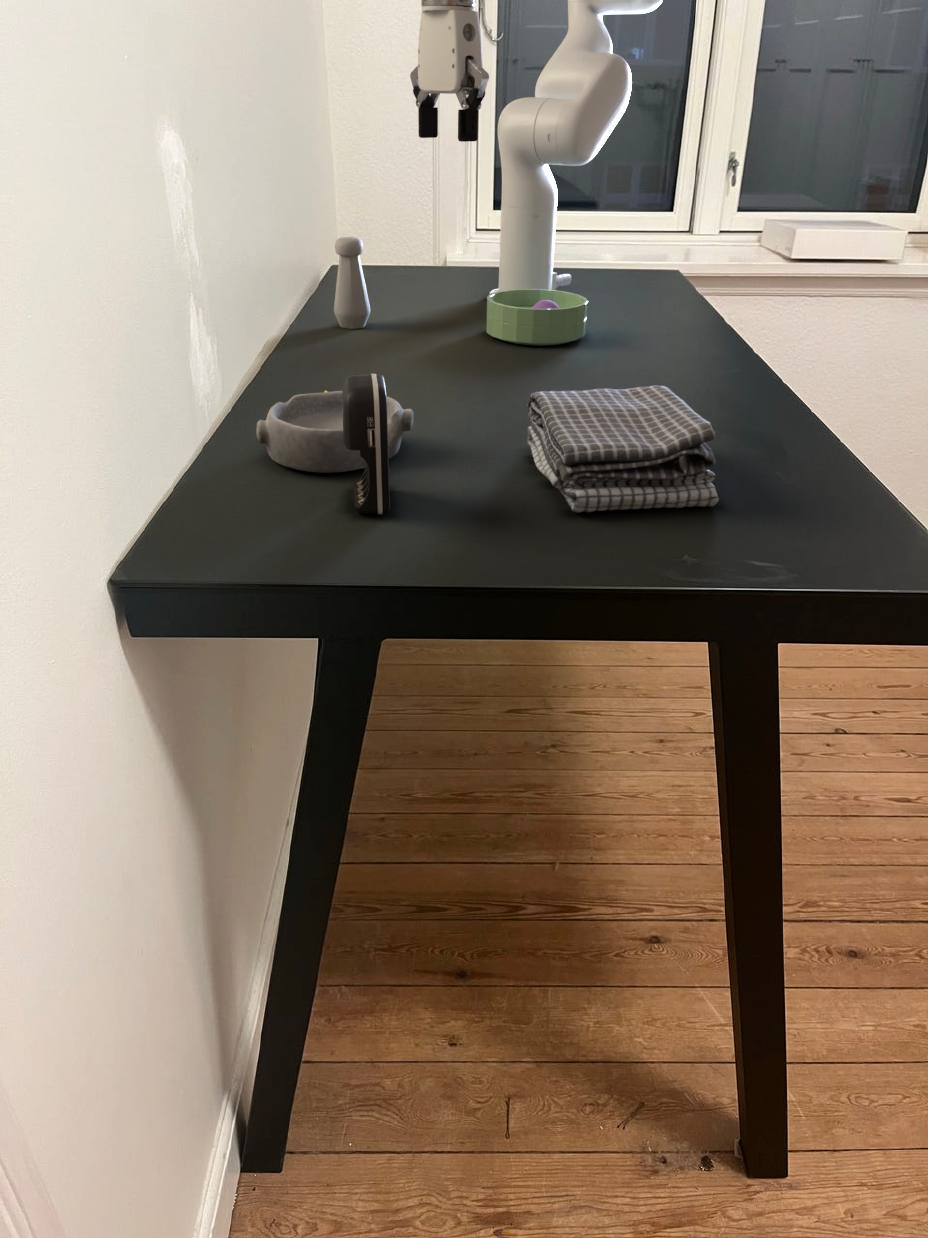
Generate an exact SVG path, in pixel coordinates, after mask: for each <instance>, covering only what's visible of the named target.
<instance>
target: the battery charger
mask: <svg viewBox="0 0 928 1238" xmlns="http://www.w3.org/2000/svg"><path fill="white" fill-rule="evenodd" d="M386 388H387V387H386V383H385V378H384V375H382V374H377V373H370V374H355V375H350V376H348V377H347V378H346V379H345V380H344V382H343V385H342V391H343V440H344V444H345V445H346V448H347V449H349V450H358V451H360V456H361V457H362V458H363V459H364V460H365V461H366V463H367V464H366V468H364V471H363V473H362V475H361V477H360V478H359V480H358V481H357V482H356V483H355V484H354V485H353V502H354V509H355V511H356V512H357V513H358V514H365V515H379V516H382V515H384V514H388V513H390V511H391V502H390V501H391V500H390V498H391V497H390V496H391V495H390V461H389V460H390V458H389V456H388V419H387V396H388V395H387V390H386Z"/></svg>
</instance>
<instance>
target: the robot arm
mask: <svg viewBox="0 0 928 1238" xmlns="http://www.w3.org/2000/svg"><path fill="white" fill-rule="evenodd" d="M420 1H421V2H420V3H421V6H420V7H421V15H420V23H419V32H418V44H417V45H418V49H417V66H415V67H414V69H413V70H412V71H411V72H410V75H409V78H410V82H411V86H412V88H413V89H412V93H413V95H414V98H415V105H416V107H417V108H418V109H417V110H418V111H417V113H418V115H417V116H418V117H417V118H418V137H419V138H421V139H436V138H437V137H438V136H439V108H438V107H435V106H436V104H437V101H438V99H439V97H440V95H441V94H445V95H446V94H447V95H449V94H450V95H451V94H455V96H456V98H457V100H458V103H459V105H460V108H461V109H458V110H457V140H458V142H460V143H461V142H477V141H478V138H479V111H480V110H481V109H482V102H483V100H484V98H485V96H486V90H487V86H488V83H489V81H490V74H489V73H488V71H486V70H485V68H483V40H482V31H481V30H482V29H481V23H480V16H479V12H478V11H477V10H476V2H477V1H476V0H420ZM662 3H663V0H567V19H568V20H567V22H568V23H567V27H568V28H567V33H566V35H565V37H564V38H563V39H562V42H561V43H560V44H559V46H558V47H557V49H556V50H555V51H554V53H553V54H552V56H550V58H549V60H548V62H546V65H545V66H544V67H543V69H542V70H541V72H540V74H539V76H538V78H537V81H536V84H535V88H534V96H528V97H522V98H517V99H514V100H512V101H511V102H509V103H508V104H507V105H506V106H505V107H504V108H503V109H502V111H501V113H500V115H499V118H498V122H497V141H498V149H499V157H500V168H501V204H500V228H499V229H500V230H499V231H500V232H499V233H500V235H499V257H498V258H499V261H498V288H494V289H492V290H491V291H489V295H490V294H491V293H495V292H498V291H505V290H513V289H546V290H557V288H559V286H563V287H564V286H569V285H570V284H571V283H572V279H573V278H572V275H571V274H570V273H561V274H559V275H558V272H555V271H554V257H555V241H556V225H557V210H558V208H557V207H558V187H557V184H556V180H555V178H554V175H553V173H552V171H551V168H550V166H549V165H551V166H565V167H566V166H567V167H580V166H584V165H586V164H588V163H590V162H591V161H592V160H593V159H594V158H595V157H596V155H598V153H599V151H600V150H601V148H602V147H603V146H604V145H605V143H606V141H607V139H608V138H609V136H610V135H611V134H612V132H613V130H614V129H615V127H616V126H617V125H618V123H619V121H620V120H621V118H622V117H623V115H624V113H625V112H626V109H627V107H628V105H629V100H630V97H631V92H632V84H633V81H632V79H633V78H632V72H631V68H630V66H629V64H628V62H627V60H626V59H625V58H624V57H622V56H621V55H620V54H616V53H614V52H613V48H614V47H613V42H612V38H611V36H610V33H609V31H608V29H607V27H606V25H605V24H604V20H603V16H606V15H607V16H608V15H642V14H643V15H644V14H647V13H650V12H653V11H655V10H656V9H657V8H659V6H660V5H661V4H662Z"/></svg>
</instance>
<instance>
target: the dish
mask: <svg viewBox="0 0 928 1238" xmlns="http://www.w3.org/2000/svg"><path fill="white" fill-rule="evenodd" d="M387 419H388V456H389V459H391V458H393V457H394V456H396V454H397V453H398V452H399V450H400V447H401V443H402V438H403V435H404V432H410V431H412V429H413V426H414V410H413V409H412V408H406V409H404V408H403V407H402V406H401V404H400V403H399V401H397V400H396V399H394V398H392V397H390V396H388V395H387ZM255 433H256V435H255V436H256V439H257V441H258V443H259V444H264V445H266V452H267V453H268V456H269V457H270V459H271V460H272V461H274V462H275V463H277V464H278V465H280V466H283V467H286V468H288V469H293V470H298V471H301V472H309V473H321V474H322V473H324V474H325V473H329V474H330V473H331V474H332V473H345V472H351V471H357V470H362V469H365V468H366V464H367V463H366V461H365V460H364V459H363V458H362V457H361V456H360V451H358V450H349V449H347V448H346V445H345V444H344V440H343V390H336V391H335V390H334V391H327V392H325V391H323V392H314V393H313V392H311V393H302V394H301V393H300V394H295V395H293V396H292V397H290V399H289V400H288V401H285V402H282V401H278V402H276V403H275V404H274V405H272V406H271V407H269V410H268V413H267V415H266V419H265V420H264V419H259V420H258V421H257V422H256V430H255Z"/></svg>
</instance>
